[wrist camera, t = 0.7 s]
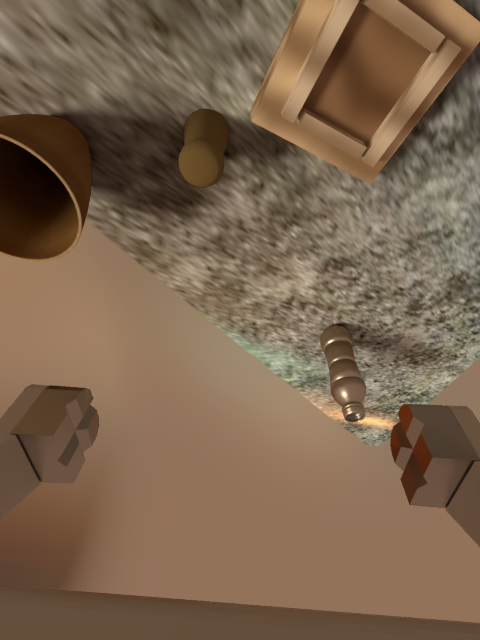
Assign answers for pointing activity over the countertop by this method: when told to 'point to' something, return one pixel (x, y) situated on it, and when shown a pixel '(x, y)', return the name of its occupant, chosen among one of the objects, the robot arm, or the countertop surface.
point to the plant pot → (42, 186)
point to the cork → (203, 147)
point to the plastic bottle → (344, 372)
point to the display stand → (361, 76)
